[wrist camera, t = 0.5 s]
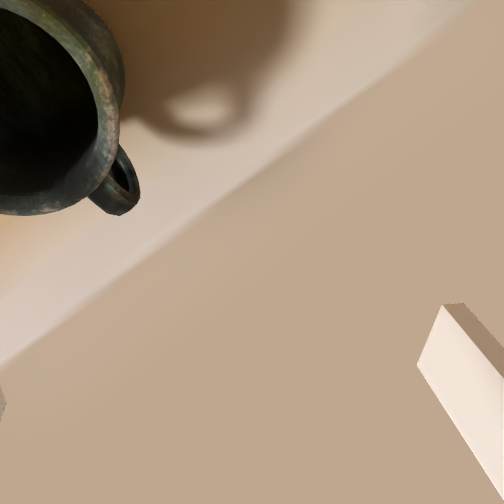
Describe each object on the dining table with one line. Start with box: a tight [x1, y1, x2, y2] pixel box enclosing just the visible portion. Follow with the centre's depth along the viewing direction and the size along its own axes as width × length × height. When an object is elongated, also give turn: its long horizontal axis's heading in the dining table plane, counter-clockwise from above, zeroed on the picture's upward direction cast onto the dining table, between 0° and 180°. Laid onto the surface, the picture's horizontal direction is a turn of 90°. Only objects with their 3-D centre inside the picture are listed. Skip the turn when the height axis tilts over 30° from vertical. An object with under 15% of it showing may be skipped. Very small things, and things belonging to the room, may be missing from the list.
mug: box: [0, 0, 140, 216], centre depth 26 cm, size 11×15×12 cm
